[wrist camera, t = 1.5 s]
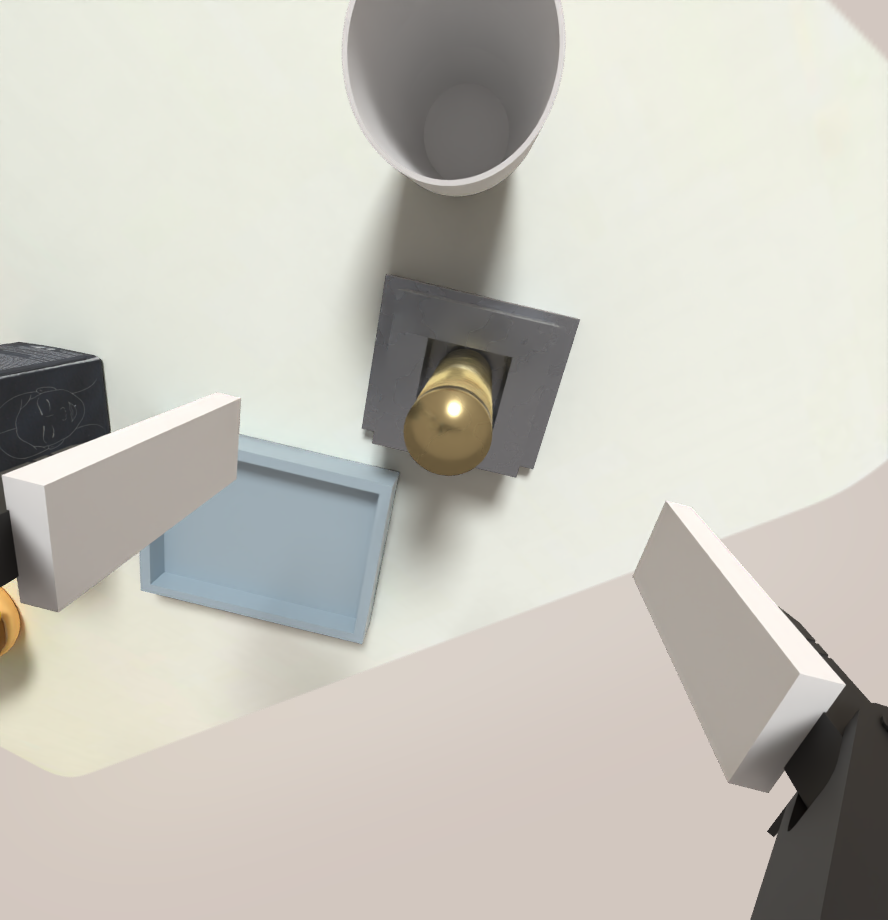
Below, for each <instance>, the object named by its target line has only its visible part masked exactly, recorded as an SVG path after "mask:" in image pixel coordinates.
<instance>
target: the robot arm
mask: <svg viewBox="0 0 888 920" xmlns="http://www.w3.org/2000/svg"><path fill="white" fill-rule="evenodd" d="M240 407H241V398H239V397H235V396H231V395H227V394H223V393H219V392H216V393H213V394H210V395H208V396H205V397H203V398H200V399H197V400H195V401H192V402H190V403H187V404H185V405H182V406H179V407H177V408H174V409H172V410H169V411H166V412H164V413H161V414H159V415H156V416H154V417H151V418H148V419H146V420H143V421H141V422H138V423H135V424H133V425H130V426H128V427H125V428H122V429H120V430H117V431H115V432H112V433H110V434H107V435H104V436H102V437H99V438H97V439H94V440H91V441H89V442H86V443H82V444H76V445H71V446H68V447H66V448H63V449H61V450H58V451H55V452H53V453H50V456H48V455H45V456H42V457H40V458H37V459H34V460H33V462H26V463H24V464H21V465H18V466H16V467H13V468H11V469H8V470H5V471H3V472H0V587H2V586H4V585H5V584H7V583H8V582H10V581H12V580H13V579H15V578H17V582H18V588H19V595H20V602H21V603H24V604H28V605H31V606H35V607H39V608H43V609H47V610H51V611H55V612H60V611H61V610H62V609H64V608H65V607H66V606H68V605H69V604H70V603H72V602H73V601H74V600H76V599H77V598H78V597H80V596H81V595H82V594H84V593H85V592H86V591H88V590H89V589H90V588H92V587H93V586H94V585H96V584H97V583H98V582H100V581H101V580H102V579H104V578H105V577H106V576H108V575H109V574H110V573H112V572H113V571H114V570H116V569H117V568H118V567H120V566H121V565H122V564H124V563H125V562H126V561H128V560H129V559H130V558H132V557H133V556H134V555H136V554H137V553H138V552H140V551H141V550H142V549H144V548H145V547H146V546H148V545H149V544H150V543H152V542H153V541H154V540H156V539H157V538H158V537H160V536H161V535H162V534H164V533H165V532H166V531H168V530H169V529H170V528H172V527H173V526H174V525H176V524H177V523H178V522H180V521H181V520H182V519H184V518H185V517H186V516H188V515H189V514H190V513H192V512H193V511H194V510H196V509H197V508H198V507H200V506H201V505H202V504H204V503H205V502H206V501H208V500H209V499H210V498H212V497H213V496H214V495H216V494H217V493H218V492H220V491H221V490H222V489H224V488H225V487H226V486H228V485H229V484H230V483H232V482H233V481H234V480H236V478H237V461H238V443H239V425H240ZM633 578H634V580H635V583H636V585H637V587H638V589H639V591H640V593H641V595H642V598H643V600H644V602H645V604H646V606H647V609H648V611H649V613H650V615H651V617H652V619H653V622H654V623H655V626H656V628H657V630H658V632H659V635H660V637H661V639H662V641H663V643H664V645H665V647H666V650H667V652H668V654H669V656H670V658H671V660H672V663H673V665H674V667H675V669H676V671H677V673H678V675H679V677H680V680H681V682H682V684H683V686H684V688H685V691H686V693H687V695H688V697H689V699H690V701H691V704H692V706H693V708H694V710H695V712H696V714H697V717H698V719H699V721H700V723H701V725H702V728H703V730H704V732H705V734H706V736H707V738H708V740H709V742H710V745H711V747H712V749H713V751H714V754H715V756H716V758H717V760H718V762H719V764H720V766H721V769H722V771H723V773H724V775H725V777H726V779H727V781H728V783H731V784H735V785H739V786H743V787H747V788H751V789H755V790H759V791H763V792H766V793H769V791H770V790H771V789H772V787H773V786H774V784H775V783H776V782H777V780H778V779H779V778H780V776H781V775H782V773H783V772H784V771H786V773H787V775H788V776H789V778H790V780H791V781H792V783H793V785H794V786H795V788H796V790H797V792H796V794H795V795H794V796H793V798H792V799H791V800H790V802H789V803H788V804H787V806H786V807H785V808H784V810H783V811H782V813H781V814H780V815H779V816H778V818H777V819H776V820H775V822H774V823H773V824H772V826H771V827H770V828H769V830H768V831H767V832H768V833H770V834H771V835H772V836H773V837H774V836H775V835H776V834H777V833H778V835H777V838H776V841H775V844H774V847H773V850H772V853H771V857H770V860H769V863H768V866H767V869H766V872H765V876H764V879H763V882H762V885H761V888H760V891H759V894H758V897H757V901H756V904H755V907H754V910H753V913H752V917H751V920H888V707H887V706H883V705H880V704H877V703H871V702H870V701H869V700H868V699H867V698H866V697H865V696H864V694H863V693H862V692H861V691H860V690H859V689H858V688H857V687H856V686H855V684H854V683H853V682H852V681H851V680H850V679H849V678H848V677H847V675H846V674H845V673H844V672H843V671H842V670H841V669H840V668H839V666H838V665H837V664H836V663H835V662H834V661H833V660H832V659H831V658H828V654H827V653H826V652H825V651H824V650H823V649H822V647H821V646H820V645H819V644H816V643H815V639H814V638H813V637H812V636H811V635H810V634H809V633H808V632H807V631H806V629H805V628H804V627H803V626H802V625H801V624H800V623H799V622H798V621H796V620H795V619H794V618H793V617H791V616H790V615H789V614H787V613H786V612H785V611H784V610H782V609H781V608H780V607H778V606H777V605H776V604H775V603H774V602H773V600H772V599H771V598H770V597H769V596H768V595H767V593H766V592H765V591H764V590H763V589H762V588H761V587H760V585H759V584H758V583H757V582H756V581H755V580H754V579H753V577H752V576H751V575H750V574H749V573H748V572H747V571H746V569H745V568H744V567H743V566H742V565H741V564H740V562H739V561H738V560H737V559H736V558H735V557H734V556H733V555H732V554H731V552H730V551H729V550H728V549H727V547H726V546H725V545H724V544H723V543H722V542H721V541H720V539H719V538H718V537H717V536H716V535H715V534H714V532H713V531H712V530H711V529H710V528H709V527H708V526H707V524H706V523H705V522H704V521H703V520H702V519H701V518H700V516H699V515H698V514H697V513H696V512H695V511H694V509H693V508H692V507H690V506H686V505H682V504H678V503H673V502H669V501H665V504H664V506H663V508H662V511H661V513H660V515H659V517H658V520H657V522H656V524H655V526H654V529H653V531H652V533H651V536H650V538H649V540H648V542H647V545H646V547H645V549H644V552H643V554H642V556H641V558H640V561H639V563H638V565H637V567H636V570H635V572H634V574H633Z"/></svg>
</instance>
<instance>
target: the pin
mask: <svg viewBox="0 0 888 920" xmlns="http://www.w3.org/2000/svg"><path fill="white" fill-rule="evenodd" d="M403 431H404V441H405V445H406V447H407V450H408V452H409V453H410V455H411V457H412V458H413V459H414V460H415V461H416V462H417V463H418V464H419V465H420V466H421V467H423V468H424V469H426V470H428V471H430V472H432V473H435V474H439V475H446V476H452V475H459V474H463V473H466V472H468V471H470V470H472V469H473V468H475V467H476V466H477V465H479V464H480V463H481V462H482V461H483V459H484V458H485V457H486V455H487V453H488V451H489V449H490V446H491V442H492V371H491V368H490V365H489V363H488V362H487V360H486V359H485V358H484V357H483V356H482V355H481V354H479V353H478V352H476V351H473V350H470V349H458V350H455V351H452V352H450V353H449V354H447V355H446V356H445V357H444V358H443V359H442V360H441V362H440V363H439V365H438V366H437V368H436V370H435V371H434V373H433V374H432V376H431V378H430V379H429V381H428V382H427V384H426V385H425V387H424V389H423V390H422V392H421V393H420V395H419V396H418V398H417V400H416V401H415V403H414V404H413V406H412V408H411V409H410V411H409V412H408V414H407V417H406V419H405V423H404V430H403Z"/></svg>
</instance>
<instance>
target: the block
mask: <svg viewBox="0 0 888 920" xmlns="http://www.w3.org/2000/svg"><path fill="white" fill-rule="evenodd" d="M579 321H580V319H577V318H573V317H569V316H565V315H560V314H556V313H552V312H548V311H543V310H539V309H535V308H531V307H526V306H522V305H518V304H513V303H509V302H505V301H501V300H496V299H492V298H488V297H484V296H479V295H475V294H471V293H466V292H462V291H458V290H454V289H449V288H445V287H441V286H436V285H432V284H428V283H424V282H419V281H415V280H411V279H407V278H402V277H398V276H394V275H389V274H386V278H385V284H384V291H383V297H382V303H381V310H380V316H379V322H378V329H377V335H376V341H375V348H374V354H373V360H372V367H371V373H370V379H369V386H368V392H367V398H366V405H365V411H364V417H363V424H362V429H367V430H371V431H374V435H373V441H372V443H373V444H377V445H382V446H386V447H390V448H394V449H398V450H403V451H407V452H408V450H407V447H406V445H405V441H404V431H403V430H404V423H405V419H406V417H407V414H408V412H409V411H410V409H411V408H412V406H413V404H414V403H415V401H416V400H417V398H418V396H419V395H420V393H421V392H422V390H423V389H424V387H425V385H426V384H427V382H428V381H429V379H430V378H431V376H432V374H433V373H434V371H435V370H436V368H437V366H438V365H439V363H440V362H441V360H442V359H443V358H444V357H445V356H446V355H447V354H449V353H450V352H452V351H455V350H458V349H470V350H473V351H476V352H478V353H479V354H481V355H482V356H483V357H484V358H485V359H486V360H487V362H488V363H489V365H490V368H491V371H492V442H491V446H490V449H489V451H488V453H487V455H486V457H485V458H484V459H483V461H482V462H481V463H480V464H479V465H477V466H476V467H475V468H478V469H482V470H487V471H491V472H495V473H499V474H503V475H508V476H512V477H516V476H517V473H518V470H519V466H522V467H527V468H531V469H533V468H534V465H535V462H536V458H537V455H538V452H539V449H540V446H541V443H542V439H543V436H544V433H545V430H546V427H547V423H548V420H549V417H550V414H551V411H552V407H553V404H554V401H555V398H556V395H557V391H558V388H559V385H560V382H561V379H562V375H563V372H564V369H565V366H566V363H567V360H568V356H569V353H570V350H571V347H572V344H573V340H574V337H575V334H576V331H577V328H578V324H579Z"/></svg>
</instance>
